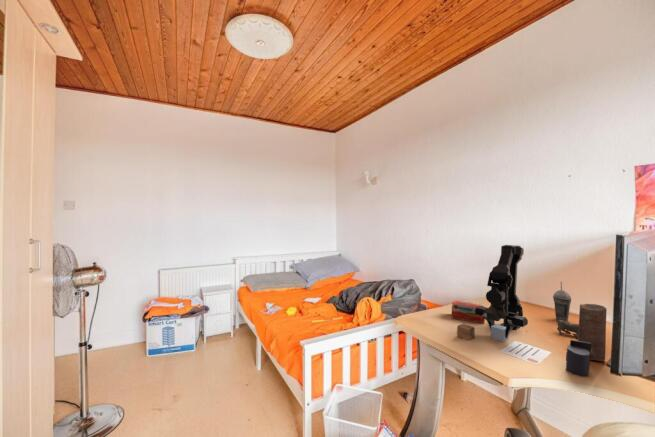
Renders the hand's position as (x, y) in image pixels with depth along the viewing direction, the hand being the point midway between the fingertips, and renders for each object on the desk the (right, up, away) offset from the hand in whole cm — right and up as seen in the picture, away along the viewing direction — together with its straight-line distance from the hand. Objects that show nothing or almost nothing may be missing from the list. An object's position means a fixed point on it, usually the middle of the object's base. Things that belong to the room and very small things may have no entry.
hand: (499, 335), depth 116 cm
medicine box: (-1, -2, +24) cm, 24 cm away
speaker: (+10, -2, -26) cm, 28 cm away
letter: (+2, -1, -12) cm, 12 cm away
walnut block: (-14, -1, +1) cm, 14 cm away
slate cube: (0, -1, 0) cm, 1 cm away
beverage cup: (+47, -3, +23) cm, 53 cm away
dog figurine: (+36, -2, +4) cm, 36 cm away
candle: (+24, -2, -16) cm, 29 cm away
